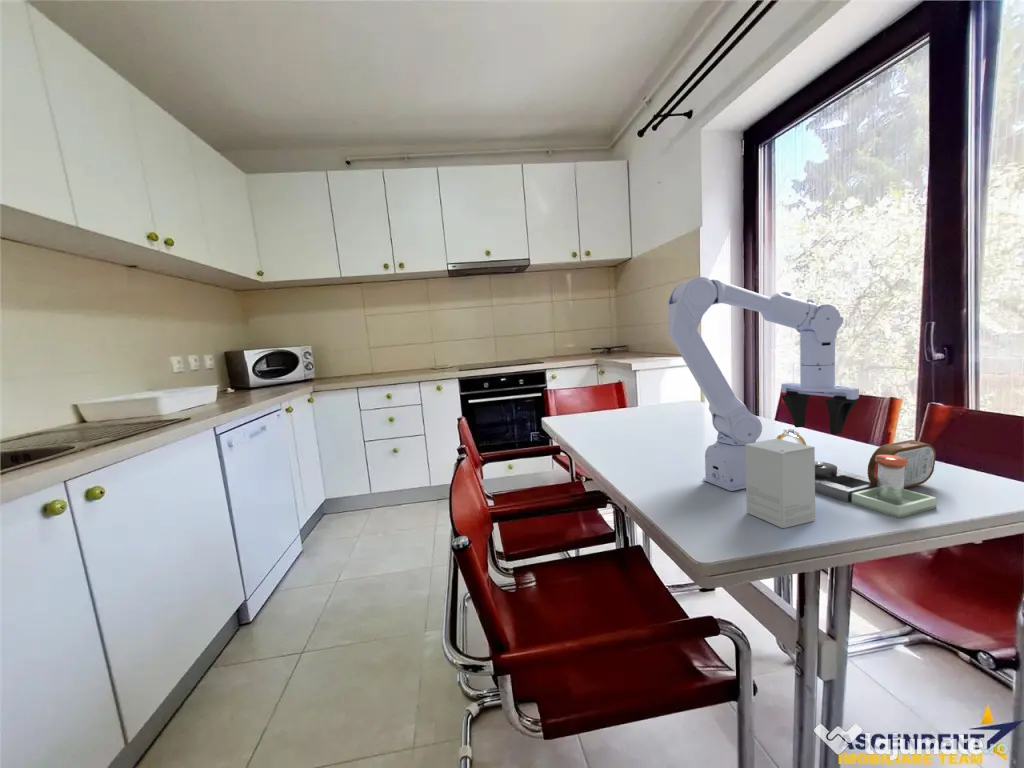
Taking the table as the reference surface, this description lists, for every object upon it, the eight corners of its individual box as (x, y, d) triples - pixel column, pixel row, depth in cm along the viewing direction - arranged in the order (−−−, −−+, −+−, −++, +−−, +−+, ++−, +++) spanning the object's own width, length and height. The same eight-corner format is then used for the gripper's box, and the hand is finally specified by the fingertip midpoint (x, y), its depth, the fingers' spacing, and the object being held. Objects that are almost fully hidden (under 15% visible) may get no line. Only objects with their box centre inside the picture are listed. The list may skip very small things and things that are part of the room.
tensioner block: (847, 502, 75) (847, 479, 74) (786, 482, 86) (786, 462, 86) (886, 492, 78) (886, 471, 77) (821, 474, 89) (821, 455, 89)
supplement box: (817, 521, 69) (817, 446, 67) (782, 529, 67) (781, 453, 65) (777, 505, 76) (776, 437, 74) (744, 512, 74) (743, 443, 72)
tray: (899, 518, 68) (899, 507, 67) (851, 502, 74) (851, 493, 74) (936, 507, 70) (936, 497, 70) (887, 493, 77) (887, 484, 77)
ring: (773, 459, 101) (772, 427, 100) (784, 458, 102) (784, 426, 101) (797, 467, 94) (797, 433, 93) (809, 466, 95) (809, 431, 94)
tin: (919, 477, 82) (920, 436, 81) (939, 482, 79) (940, 439, 78) (865, 490, 78) (865, 446, 77) (884, 496, 75) (885, 450, 74)
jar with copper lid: (895, 507, 70) (897, 463, 69) (868, 499, 74) (869, 456, 73) (912, 503, 71) (914, 459, 70) (884, 495, 75) (885, 453, 74)
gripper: (870, 364, 79) (869, 433, 80) (798, 362, 93) (798, 421, 94) (843, 367, 77) (843, 438, 78) (773, 364, 91) (774, 425, 92)
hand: (817, 429), depth 86 cm, fingers open, 7 cm apart
